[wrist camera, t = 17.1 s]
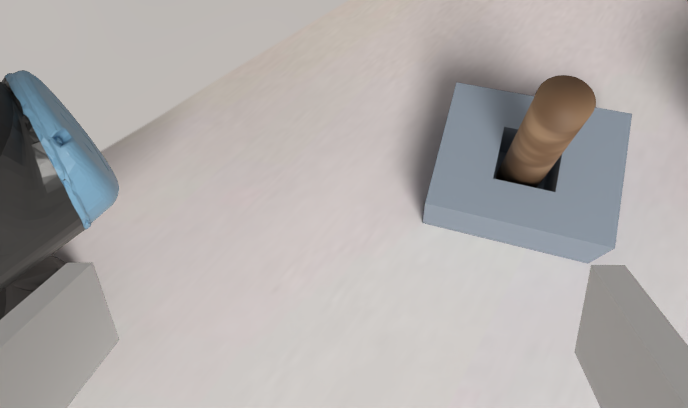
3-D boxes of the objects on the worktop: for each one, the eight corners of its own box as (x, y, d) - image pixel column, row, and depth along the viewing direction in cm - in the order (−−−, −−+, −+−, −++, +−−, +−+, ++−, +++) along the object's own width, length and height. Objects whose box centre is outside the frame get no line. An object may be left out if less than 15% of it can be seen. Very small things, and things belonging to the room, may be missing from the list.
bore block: (422, 222, 48) (425, 203, 42) (450, 113, 51) (456, 82, 46) (588, 263, 44) (614, 248, 39) (605, 143, 48) (631, 113, 43)
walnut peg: (492, 193, 47) (531, 118, 33) (500, 158, 48) (541, 70, 34) (533, 202, 46) (591, 130, 32) (540, 166, 47) (599, 81, 33)
